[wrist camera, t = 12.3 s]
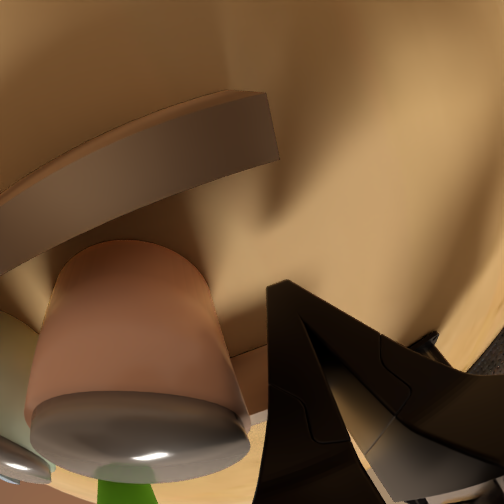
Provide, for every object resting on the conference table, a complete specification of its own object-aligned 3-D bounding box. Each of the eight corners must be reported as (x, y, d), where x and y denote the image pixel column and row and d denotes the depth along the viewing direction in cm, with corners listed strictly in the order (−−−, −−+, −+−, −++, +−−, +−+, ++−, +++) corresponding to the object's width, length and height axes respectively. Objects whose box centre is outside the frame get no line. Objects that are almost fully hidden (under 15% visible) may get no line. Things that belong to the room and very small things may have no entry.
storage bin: (508, 318, 37) (546, 361, 26) (518, 318, 45) (547, 351, 35) (422, 413, 48) (448, 454, 38) (451, 396, 57) (474, 429, 46)
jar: (175, 210, 8) (209, 381, 4) (231, 334, 11) (275, 457, 7) (24, 278, 7) (-22, 423, 3) (109, 373, 11) (116, 489, 6)
